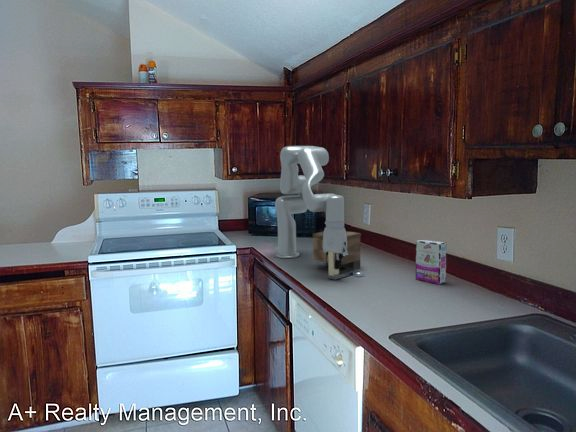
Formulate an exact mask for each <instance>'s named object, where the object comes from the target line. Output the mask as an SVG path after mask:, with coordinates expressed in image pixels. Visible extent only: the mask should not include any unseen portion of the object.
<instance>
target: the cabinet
mask: <svg viewBox="0 0 576 432" xmlns="http://www.w3.org/2000/svg"><path fill="white" fill-rule="evenodd" d="M323 234H324V231H319V232H315V233H312V255H313V256H312V257H313V259H312V260H314V261H317V262H318V261H319V262H322V263H326V265H327V266H329V265H328V255H327V254H326V253H325V252H324V251H323ZM346 236H347V252H348V255H346V256H344V257H343V259H341V268H340V269H342V268H343V269H349V268H353V269H358V270H359V269H361V236H362V233H361V232H355V231H349V230H348V231H346ZM339 255H340V254H339Z"/></svg>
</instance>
